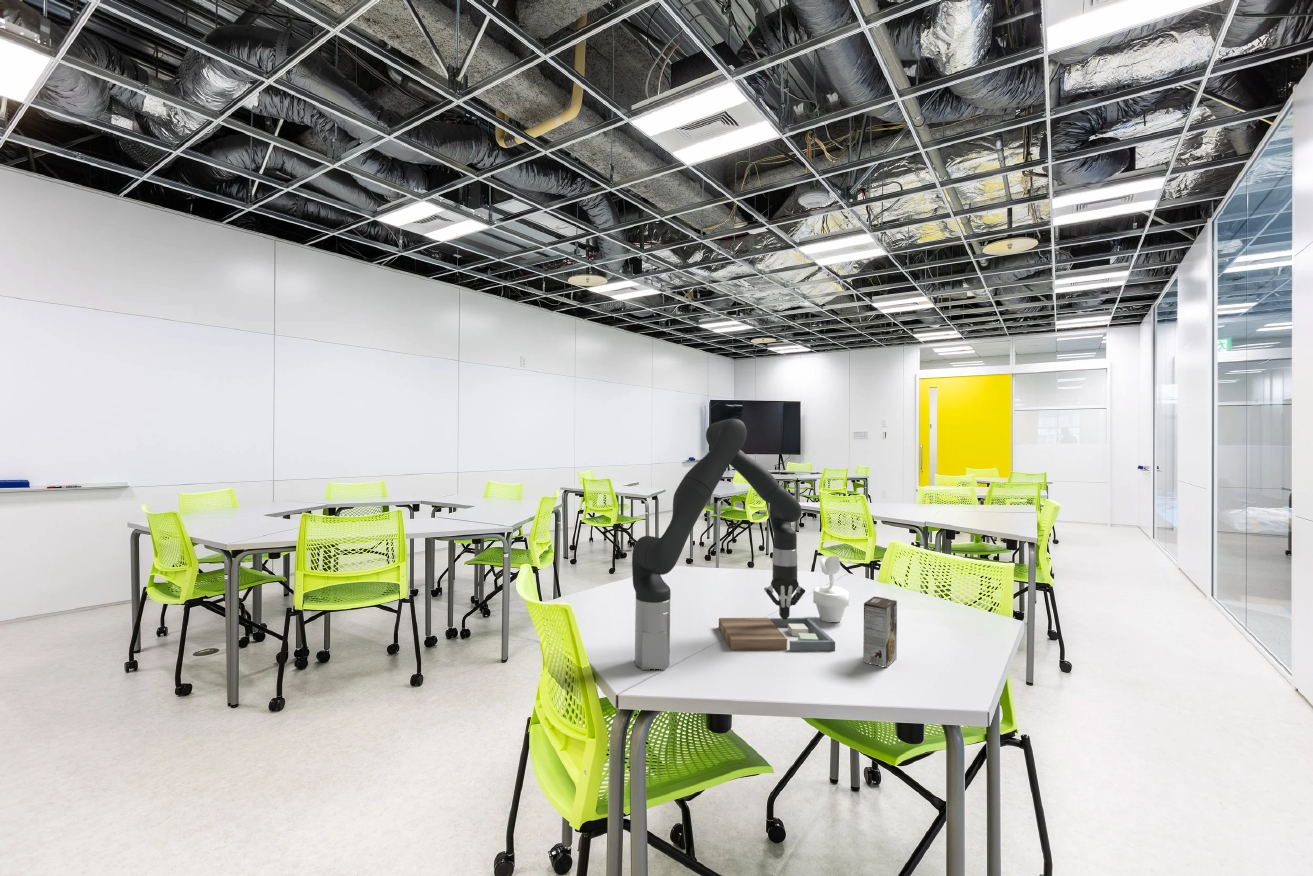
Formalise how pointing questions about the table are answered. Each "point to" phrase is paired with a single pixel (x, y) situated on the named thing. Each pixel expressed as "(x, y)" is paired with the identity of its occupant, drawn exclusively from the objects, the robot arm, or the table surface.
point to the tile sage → (807, 637)
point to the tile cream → (797, 629)
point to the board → (752, 634)
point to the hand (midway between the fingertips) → (784, 618)
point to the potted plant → (831, 592)
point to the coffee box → (880, 631)
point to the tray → (821, 645)
